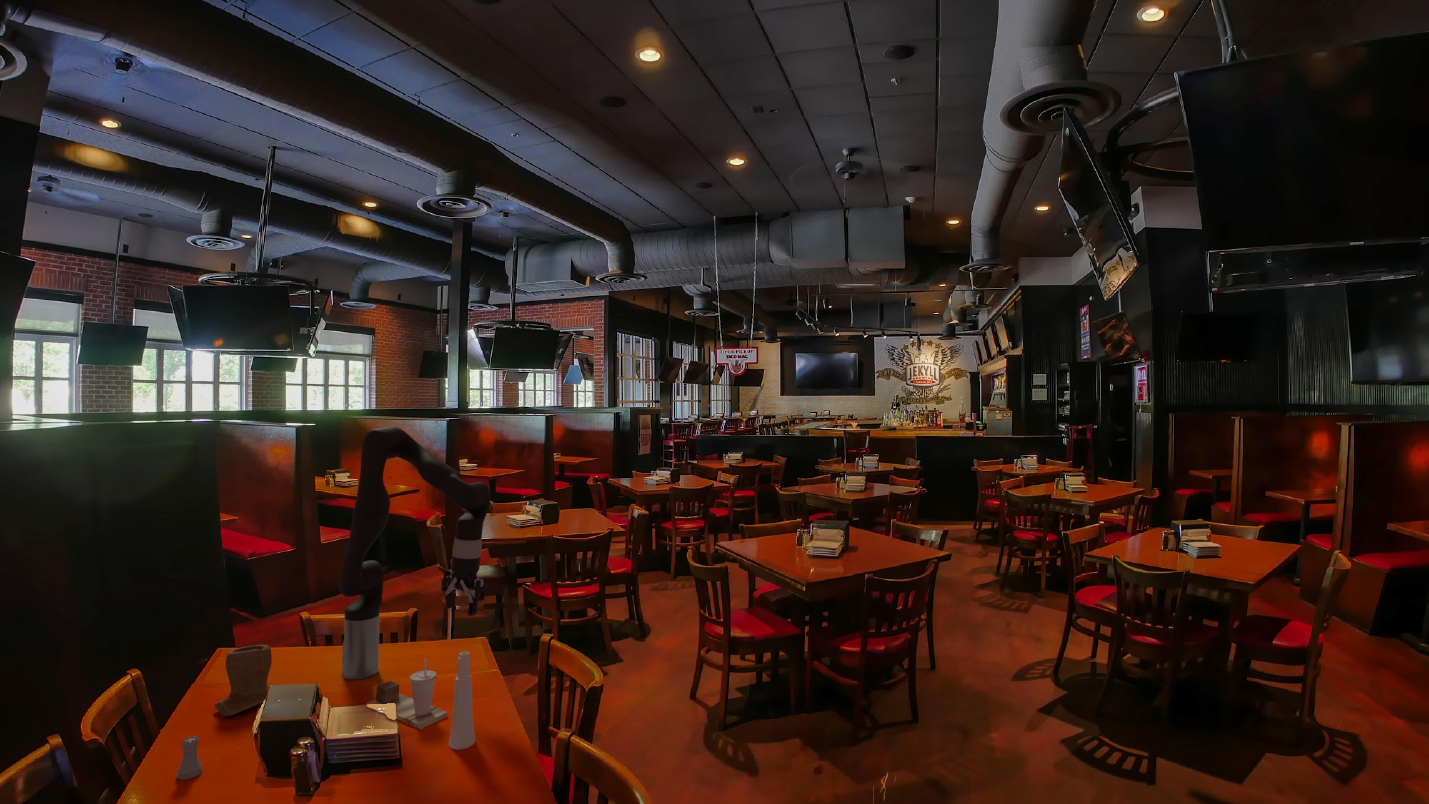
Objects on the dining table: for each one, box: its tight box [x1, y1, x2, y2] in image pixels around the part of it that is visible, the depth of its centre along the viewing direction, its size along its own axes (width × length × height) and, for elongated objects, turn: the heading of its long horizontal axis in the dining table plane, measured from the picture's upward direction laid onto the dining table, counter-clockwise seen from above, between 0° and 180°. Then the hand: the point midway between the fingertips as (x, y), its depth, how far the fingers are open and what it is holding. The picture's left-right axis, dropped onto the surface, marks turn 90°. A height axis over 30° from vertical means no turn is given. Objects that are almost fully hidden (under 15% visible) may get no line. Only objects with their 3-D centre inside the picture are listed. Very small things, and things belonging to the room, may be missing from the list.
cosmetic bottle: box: [448, 651, 476, 751], centre depth 161 cm, size 6×6×22 cm
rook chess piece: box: [176, 735, 203, 781], centre depth 146 cm, size 4×4×8 cm
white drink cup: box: [409, 658, 437, 716], centre depth 174 cm, size 6×6×14 cm
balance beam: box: [366, 680, 448, 730], centre depth 176 cm, size 22×10×5 cm, turn 61°
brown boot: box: [214, 644, 273, 717], centre depth 178 cm, size 15×12×15 cm
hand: (460, 611), depth 187 cm, fingers open, 8 cm apart
